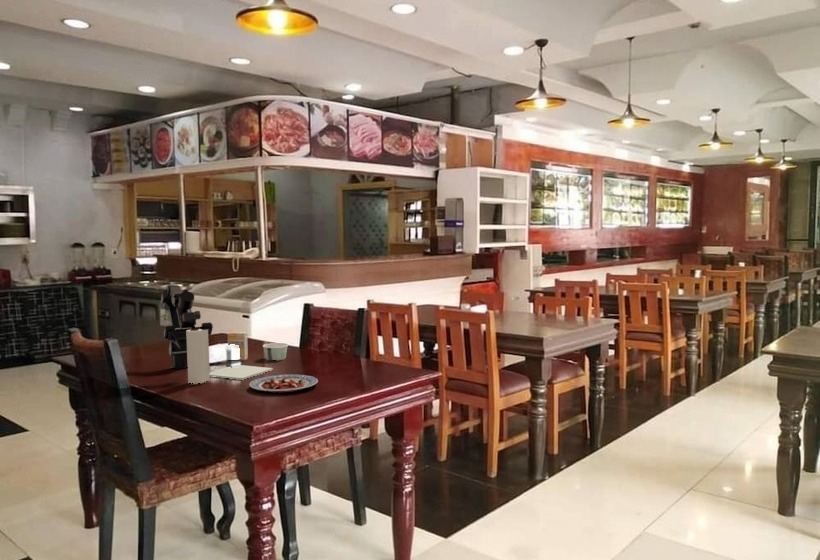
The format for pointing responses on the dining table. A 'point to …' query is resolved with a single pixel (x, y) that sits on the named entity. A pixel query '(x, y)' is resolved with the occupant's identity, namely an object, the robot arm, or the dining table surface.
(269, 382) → the ceramic plate
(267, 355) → the food container
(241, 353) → the supplement box
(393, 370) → the dining table surface
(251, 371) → the sage board
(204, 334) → the paper towel roll
